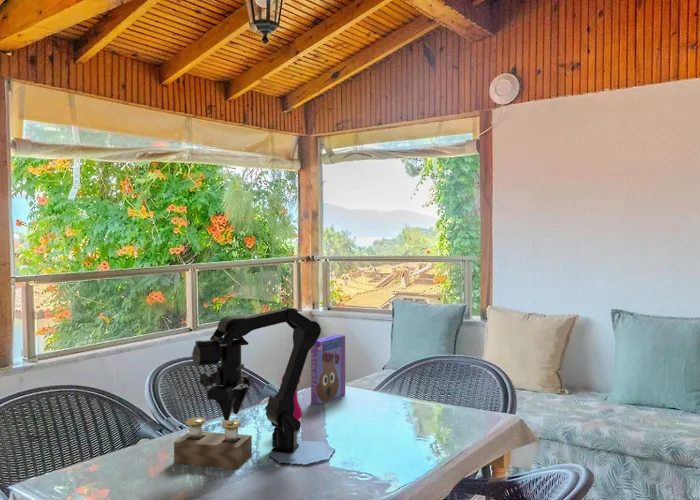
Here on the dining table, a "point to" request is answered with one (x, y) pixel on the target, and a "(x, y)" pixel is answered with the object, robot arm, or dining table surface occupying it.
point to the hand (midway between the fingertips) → (231, 417)
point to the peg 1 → (195, 428)
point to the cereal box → (328, 369)
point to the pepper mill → (296, 405)
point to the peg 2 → (231, 430)
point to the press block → (213, 451)
